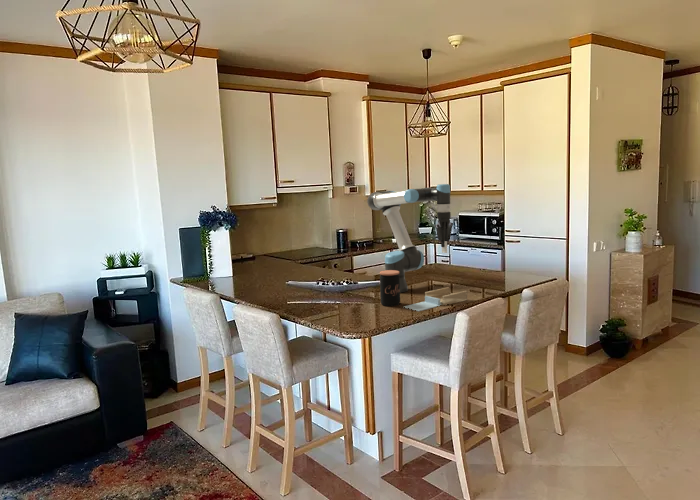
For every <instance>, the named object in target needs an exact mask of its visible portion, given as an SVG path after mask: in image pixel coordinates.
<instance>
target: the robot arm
mask: <svg viewBox="0 0 700 500" xmlns="http://www.w3.org/2000/svg"><path fill="white" fill-rule="evenodd" d="M430 201H431V202H436V211H437V213H436V217H437V218H436V219H438V220H437V223H436V224H434V227H435V230H436V234H437V236H436V237H437V240H438V241H440V246H441V253H443V254H447V253H448V245H449V244H448V242H449V241H450V240H451V237H452V231H453V226H454V222H451V220H450V219H451V217H452V216H451V215H452V214H451V185H450V184H448V183H441V184H436V187H424V188H421V187H420V188H409V189H406V190H399V191H394V190H386V191H383V190H382V191H374V192H371V193H370V194H369V195H368V197H367V200H366V203H367V205H368V207H369V208H370V209H371V210H373V211H381V212H382V215H383V216H386V218H387V220H388V223H389V225H390V228H391V231H392V234H393V237H394V239H395V241H396V245H397V247H398V249H399V250H395V251H390V252H387V253H386V254H385V256H384V269H385V270H396V271H399V276H400V294H401V293H406V292H408V291H409V287H408V283H407V281H406V277H405V273H407V272H410V271H417V270H419V269H421V268H422V267H423V266H424V263H425V256H424V253H423V252H422V251H421V250H419V249H417V246H416V245H414V244H413V243H412V240H411V238H410V235H409V233H408V230H407V227H406V225H405V222H404V220H403V218H402V214H401V212H400V209H401V205H402V204H403V205H404V204H413V203H419V202H420V203H421V202H422V203H423V202H430ZM385 270H384V271H385Z"/></svg>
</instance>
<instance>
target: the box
mask: <svg viewBox="0 0 700 500" xmlns="http://www.w3.org/2000/svg"><path fill="white" fill-rule="evenodd" d="M425 296H429V297H434V298H438V299H440V304H442V306H443V305H445V306H447V304H449V305H452V304H457V303H461V302H464V301H468V291H467V290H464V291H458V292H455V293H453V292H450V287H449V286H447V287H443V288H442V287H441V288H439V289H433V290H429V291H425V292H424V297H425Z"/></svg>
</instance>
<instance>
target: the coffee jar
mask: <svg viewBox="0 0 700 500" xmlns="http://www.w3.org/2000/svg"><path fill="white" fill-rule="evenodd" d="M379 289H380V290H379V292H380V295H379V296H380V303H381V305H382V306H384V307H397V306H399V305H400V303H401V293H400V276H399V271H396V270H381V271H380V272H379Z"/></svg>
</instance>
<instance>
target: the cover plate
mask: <svg viewBox="0 0 700 500" xmlns="http://www.w3.org/2000/svg"><path fill="white" fill-rule="evenodd" d="M440 305H442V304H440V299H438V298H434V297H429V296H425V295H424V301H421V302H417V303H412V304H409V305H405V306H403V308H404V307H405V308H404V309H408V308H409V309H408V310H411V309H412V310H411V311H415V310H416V311H415V312H421V311H426V310H429V309H433V308H434V309H435V308H437V306H438V307H441V306H440ZM442 306H443V305H442Z"/></svg>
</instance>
